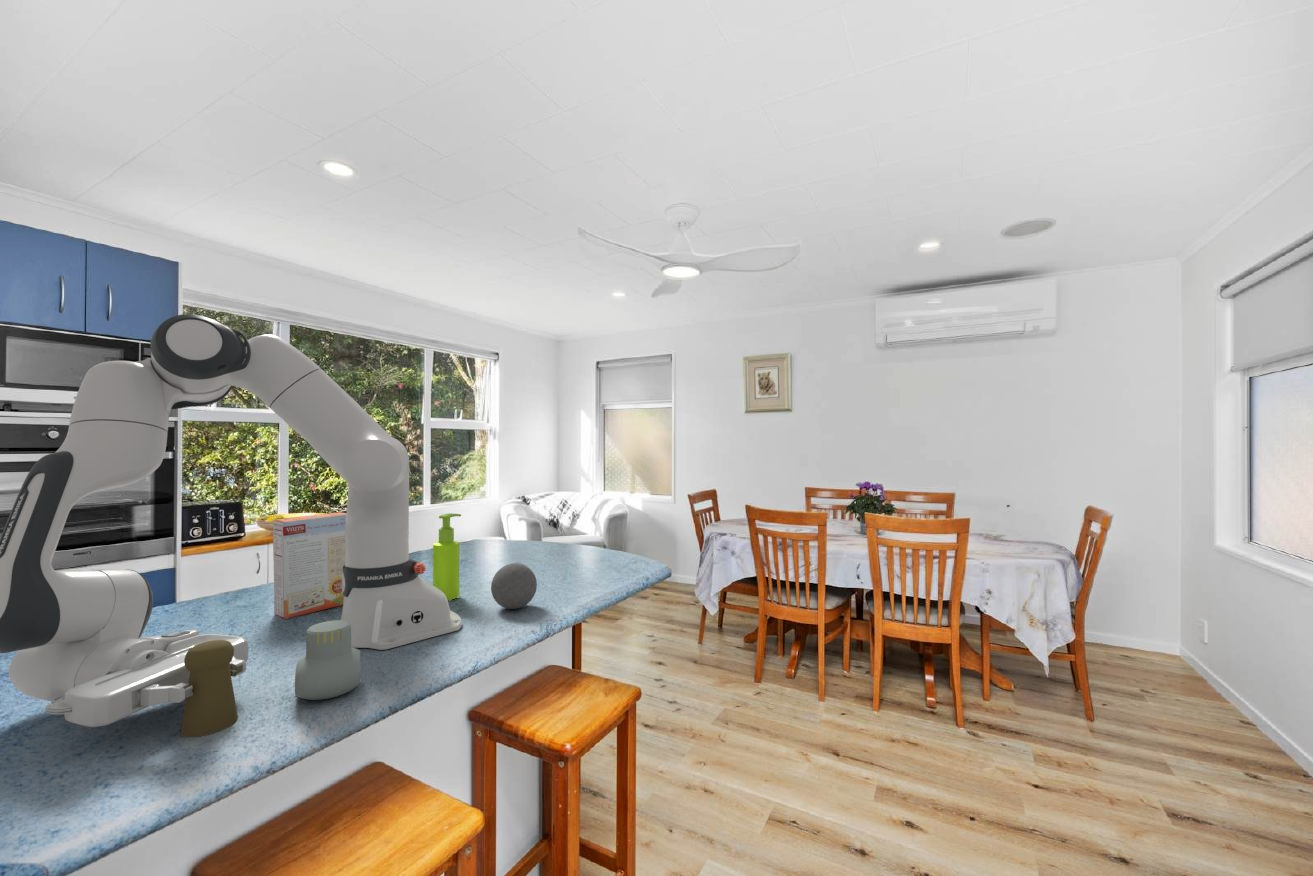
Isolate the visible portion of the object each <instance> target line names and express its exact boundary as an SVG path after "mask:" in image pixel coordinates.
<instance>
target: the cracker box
mask: <svg viewBox="0 0 1313 876" xmlns="http://www.w3.org/2000/svg"><path fill="white" fill-rule="evenodd" d="M346 513H347V512H346ZM346 513H345V512H341V511H338V512H332V513H331V512H330V513H322V514H321V513H320V514H311V515H310V514H309V515H300V516H293V517H284V518H275V519H274V520H272V542H273V544H272V547H273V548H272V549H273V550H272V551H273V552H272V553H273V555H272V556H273V605H274V607H273V609H274V610H273V611H274V613H273V614H274V615H275V616H278V617H280V618H282V619H284V620H286V619H291V618H294V617H298V616H302V615H303V616H304V615H307V614H310V613H315V612H316V613H317V612H319V611H323V610H326V609H327V610H328V609H332V608H335V607H340V606H343V601H344V595H343V592H342V572H343V565H344V564H345V522H346Z"/></svg>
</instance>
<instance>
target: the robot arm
mask: <svg viewBox="0 0 1313 876" xmlns="http://www.w3.org/2000/svg"><path fill="white" fill-rule="evenodd" d="M241 337H242V338H241ZM149 345H150V352H151V353H150V357H148V358H145V359H143V360H138V361H131V360H108V361H104V362H100V363H98V364H95V365H94V366H92V367H90V368H89V369H88V370H87V371H86V373H85V375H84V377H83V379H82V381H81V384H80V386H79V388H78V392H77V394H76V396H75V399H74V403H73V406H72V411H71V414H70V420H69V424H68V431H67V434H66V436H65V439H64V441H63V442H62V444H61V445H60V447H59V448H58V449H57V450H56V451H55V452H54V453H53V452H52V453H49V454H47V455H46V454H45V455H43V456H42V457H41V458H40V459H38V460H37V461H36V462H35V463H34V464H33V466H32V467H31V469H30V470H29V472H28V473H27V475H26V477H25V479H24V481H23V483H22V485H21V487H20V490H19V492H18V494H17V496H16V499H15V501H14V503H13V506H12V508H11V511H10V513H9V515H8V518H7V520H6V523H5V524H4V525H5V526H4V528H3V531H2V533H1V536H0V654H8V653H13V652H16V653H15V654H14V656H13V658H12V659H11V661H10V664H9V667H8V677H9V680H10V683H11V684H12V686H13V687H15V689H17V691H19V692H20V693H22V694H24V695H26V696H28V697H31V698H33V699H37V700H41V701H46V702H50V703H49V704H47V705H45V708H44V711H45V713H46V714H49V715H57V716H59V715H64V719H65V720H66V721H67V722H69V723H72V724H74V725H80V726H83V727H88V728H99V727H104V726H108V725H111V724H113V723H116V722H117V721H120V720H122V719H124V718H126V717H128V716H130V715H134V714H135V713H138V712H140V711H142V710H144V709H147V708H149V707H152V706H158V705H162V704H169V703H176V704H177V703H178V704H179V703H182V702H185V700H186V699H188V698H190V697H192V695H193V692H192V689H193V687H192V685H191V684H188V681H189V675H190V672H189V671H188V670H187V669H186V667H185V664H184V659H185V655H186V653H187V652H188V650H189V649H190V648H192V647H193V646H195V645H197V644H200V643H203V642H207V641H213V640H226V641H229V642H230V643H231V644H232V645H233V647H234V655H233V659H232V661H231V662H230V664H229V667H230V673H231V677H237V676H239V675H241V674H243V673H245V672H246V670H247V662H248V658H249V643H248V640H247V639H246V638H245V637H242V636H236V635H231V634H230V635H229V634H221V633H220V634H218V633H203V634H200V632H199V630H198V629H186V630H181V631H177V632H172V633H167V634H161V635H156V636H142V635H143V633H144V631H145V629H146V626H147V625H148V622H149V621H150V619H151V618H150V617H151V615H152V611H153V605H154V594H153V589H152V587H151V585H150V583H149V581H148V580H147V579H146V578H145V577H144V576H143V575H142V574H141V573H139V572H138V571H136V570H134V569H127V568H126V569H109V568H108V569H89V570H87V569H86V570H85V569H83V570H82V569H81V570H79V569H78V570H77V569H76V570H75V569H73V570H66V569H64V570H55V569H54V568H53V565H52V561H53V558H54V555H55V553H56V550H57V547H58V544H59V541H60V539H61V536H62V534H63V533H62V532H63V530H64V527H65V525H66V522H67V519H68V516H69V514H70V512H71V510H72V508H73V507H74V506H75V505H76V504H77V503H78V502H79V501H80V500H82V499H83V498H84V497H87V496H88V495H91V494H94V493H98V492H101V491H102V492H103V491H107V490H112V489H117V488H122V487H125V486H129V485H132V484H135V483H138V482H140V481H142V480H144V479H145V478H146V479H147V478H148V477H149V476H150V475H152V474H154V473H155V471H156V470H158V469H159V467H161V465H162V462H163V460H164V457H165V454H166V451H167V450H166V449H167V442H168V431H169V420H170V414H171V411H172V410H178V409H183V408H190V407H192V408H193V407H195V408H196V407H205V406H209V405H213V404H216V403H218V402H220V401H221V400H223V399H224V398H226V396H228V394H229V393H230V392H231V390H232V389H233V387H238V388H241V389H244V390H246V391H248V392H250V393H252V394H253V395H254V396H257V397H258V398H259V399H260V400H261V402H263V403H264V404H265V405H266V406H267V407H268V408H269V409H271V410H272V412H273V413H275V415H277V416H278V417H279V418H280V419H281V420H283V421H284V422H285V423H286V425H288V426H289V427H291V428H292V429H293V431H295V433H297V434H298V435H299V436H300V437H302V438H303V439H304V440H305V441H306V442H307V443H308V444H309V445H310V446H311V447H312V448H313V450H314V451H316V453H317V454H318V455H319V456H320V457H321V458H322V460H324V461H325V462H326V464H328V465H329V466H330V468H332V470H334V471H335V472H336V473H337V474H338V475H339V476H340V477H341V479H343V480H344V481H345V482H346V483H347V484H348V485H347V487H348V489H347V490H348V491H347V505H346V522H345V564H344V565H343V572H342V592H343V595H344V601H343V605H342V609H341V610H342V611H341V616H340V620H343V621H347V622H349V623H350V624H351V647H352V648H356V649H358V648H360V649H361V648H362V649H367V648H368V649H373V650H379V651H380V650H381V651H382V650H389V649H392V648H398V647H402V646H405V645H408V644H412V643H416V642H420V641H423V640H427V639H431V638H433V637H438V636H442V635H445V634H448V633H454V632H456V631H457V632H458V631H459V630H460V629H461V628H462V626H463V624H462V619H461V617H460V615H459V614H458V613H456V612H454V611H453V610H451V609H450V604H449V601H448V600H447V598H446V596H445V594H444V593H443V592H442V591H441V590H439V589H438V588H436V587H435V586H433V583H430V582H428V581H427V580H425V579H423V578H422V577H420V575H423V574H424V573H425V572H426V571H427V570H426V569H427V567H426V565H425V564H424V563H422V562H419V561H416V560H415V559H412V558H409V554H410V553H409V550H410V548H409V547H410V545H409V537H410V536H409V529H410V528H409V526H410V525H409V521H410V519H409V518H410V517H409V516H410V511H409V510H410V506H409V505H410V456H409V453H408V450H407V448H406V447H405V445H404V444H403V443H402V442H401V441H399V440H398V439H397V438H395V437H393V436H391V434H389V433H388V432H387V431H386V429H385V428H384V427H382V426H381V425H380V423H378V422H377V421H376V420H375V419H374V418H373V417H372V416H370V414H369V413H367V411H365V409H363V407H362V406H361V405H360V404H359V403H358V402H357V401H356V400H355V399H354V398H352V396H351V395H350V394H349V393H348V392H346V391H345V390H344V389H343V387H342V386H340V385H339V384H338V383H337V382H336V381H335V380H334V379H333V378H332V377H330V376H329V375H328V374H327V373H326V372H325V371H324V370H323V369H322V367H319V365H318V364H317V363H315V362H314V361H313V360H312V359H311V358H309V357H308V356H307V355H306V354H305V353H303V352H302V351H301V350H299V348H296V347H295V346H293V345H292V344H291V343H289V342H288V341H287V340H284V339H283V338H281V337H280V336H277V335H273V334H261V335H256V336H253V337H251V338H249V339H248V338H247V336H246V335H245V334H244V333H243V332H241V331H239V330H238V329H234V328H232V327H229V326H225V325H224V324H222V323H220V322H219V321H216V320H215V319H212V318H209V317H206V316H203V315H200V314H199V315H198V314H193V313H192V314H191V313H185V314H184V313H183V314H178V315H173V316H171V317H169V318H167V319H165V320H164V321H163V322H162V323H161V324H159V325H158V326H157V328H156V329H155V331H154V332H153V334H152V337H151V339H150V343H149Z"/></svg>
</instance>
